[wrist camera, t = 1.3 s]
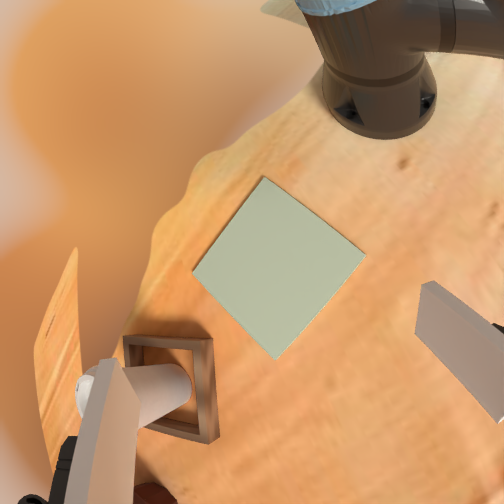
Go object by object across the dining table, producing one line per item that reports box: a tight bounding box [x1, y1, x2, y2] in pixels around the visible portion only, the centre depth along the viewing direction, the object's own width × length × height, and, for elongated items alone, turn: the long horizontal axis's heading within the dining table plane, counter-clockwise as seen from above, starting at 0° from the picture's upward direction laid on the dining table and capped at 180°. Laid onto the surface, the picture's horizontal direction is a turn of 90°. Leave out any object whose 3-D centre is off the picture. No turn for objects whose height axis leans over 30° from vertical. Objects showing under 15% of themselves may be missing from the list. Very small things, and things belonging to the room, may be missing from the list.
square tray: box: [123, 334, 220, 445], centre depth 40 cm, size 14×14×3 cm
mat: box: [192, 177, 366, 360], centre depth 38 cm, size 16×16×1 cm
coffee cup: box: [75, 363, 192, 429], centre depth 35 cm, size 10×10×15 cm
